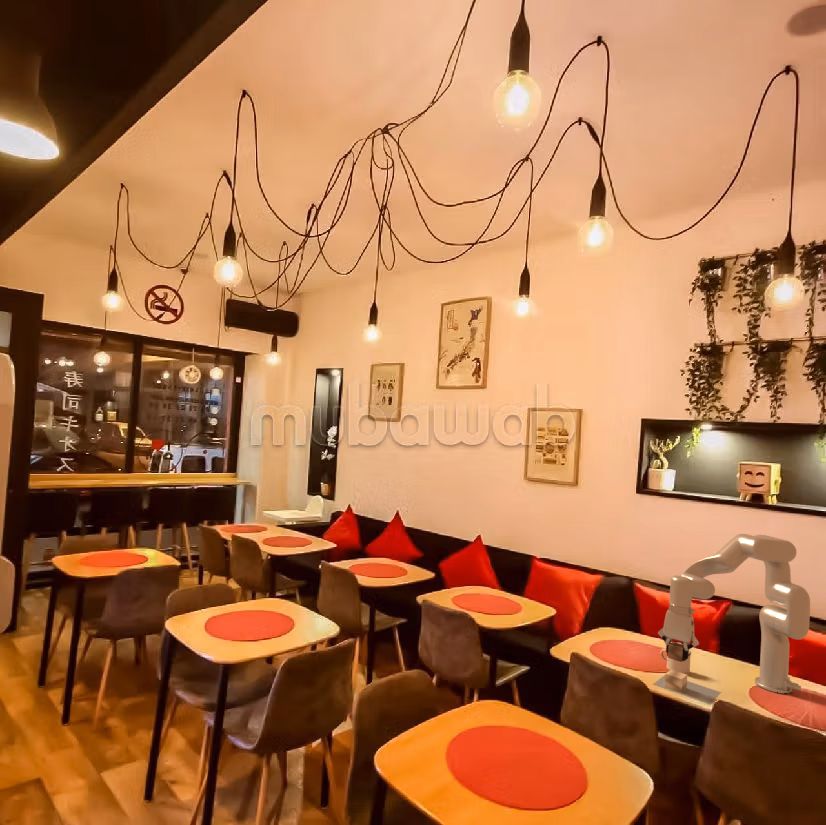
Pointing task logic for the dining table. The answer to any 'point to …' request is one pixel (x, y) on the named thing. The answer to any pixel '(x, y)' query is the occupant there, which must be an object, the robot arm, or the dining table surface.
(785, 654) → the robot arm
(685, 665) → the teacup with lid
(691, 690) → the slate board
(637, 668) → the dining table surface
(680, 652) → the walnut block
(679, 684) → the maple block
